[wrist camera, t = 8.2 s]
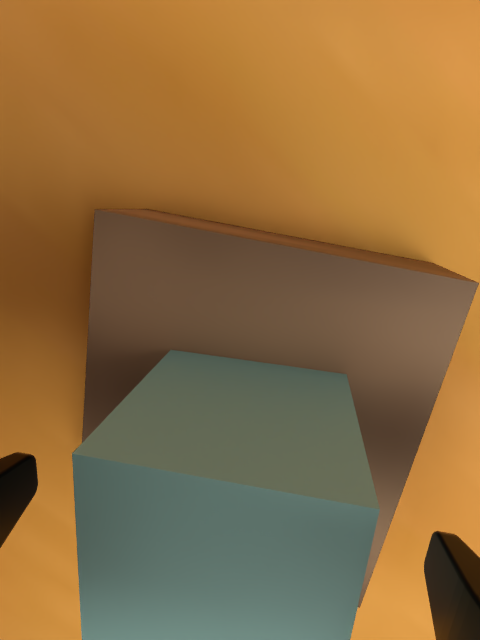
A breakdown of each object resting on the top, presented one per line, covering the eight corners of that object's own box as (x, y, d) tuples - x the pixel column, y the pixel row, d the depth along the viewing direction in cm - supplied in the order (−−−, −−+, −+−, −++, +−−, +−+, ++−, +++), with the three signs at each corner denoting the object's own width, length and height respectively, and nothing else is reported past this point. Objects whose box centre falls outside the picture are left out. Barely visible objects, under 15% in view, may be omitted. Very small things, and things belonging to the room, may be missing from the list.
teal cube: (320, 521, 12) (330, 725, 7) (166, 491, 13) (83, 661, 8) (346, 374, 11) (380, 509, 6) (170, 349, 11) (72, 453, 6)
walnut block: (347, 515, 16) (359, 607, 13) (127, 457, 18) (77, 525, 14) (429, 261, 13) (479, 283, 9) (151, 209, 14) (94, 209, 10)
